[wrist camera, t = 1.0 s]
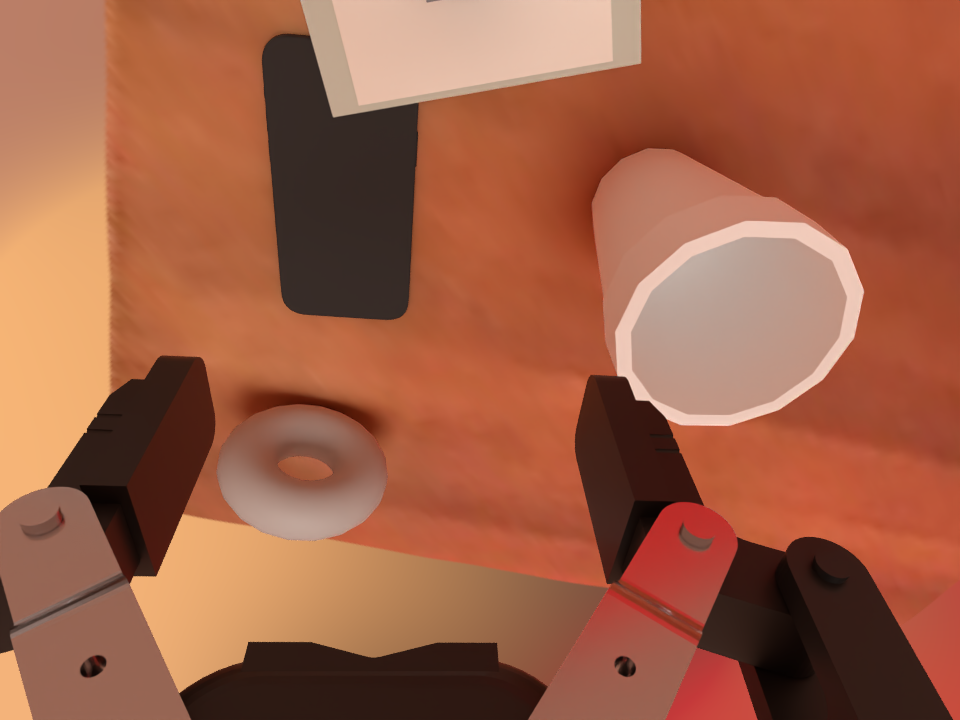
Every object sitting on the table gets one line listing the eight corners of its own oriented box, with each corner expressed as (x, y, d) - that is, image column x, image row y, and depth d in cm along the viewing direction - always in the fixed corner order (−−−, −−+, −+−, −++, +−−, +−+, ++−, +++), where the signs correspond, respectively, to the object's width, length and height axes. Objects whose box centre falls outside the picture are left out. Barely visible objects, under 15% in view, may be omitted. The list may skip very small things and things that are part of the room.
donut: (398, 409, 43) (387, 528, 35) (386, 446, 45) (374, 567, 37) (244, 378, 41) (194, 496, 33) (239, 418, 43) (191, 539, 34)
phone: (281, 313, 38) (257, 32, 29) (284, 306, 38) (261, 29, 30) (408, 321, 38) (421, 50, 30) (408, 314, 39) (422, 46, 30)
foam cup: (663, 76, 31) (776, 164, 21) (768, 195, 35) (908, 320, 25) (528, 215, 35) (564, 348, 25) (636, 308, 39) (707, 459, 28)
